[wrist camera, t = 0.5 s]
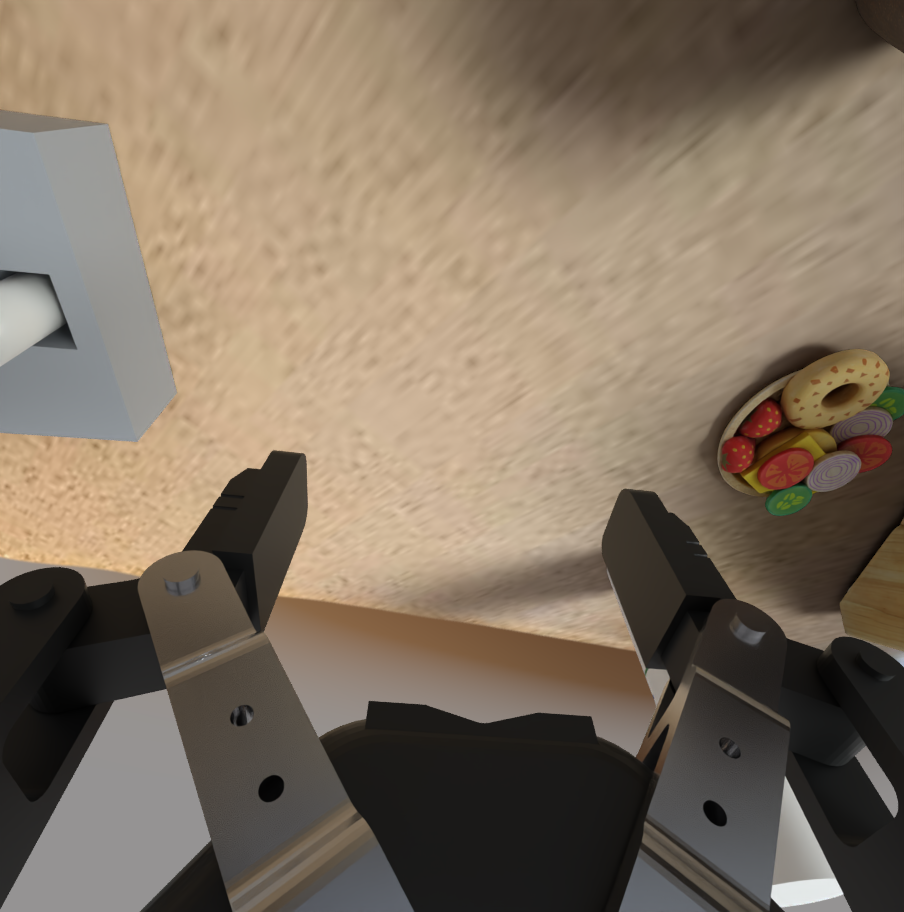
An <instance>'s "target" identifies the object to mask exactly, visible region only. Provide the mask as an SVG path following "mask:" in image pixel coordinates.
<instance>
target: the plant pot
mask: <svg viewBox="0 0 904 912" xmlns="http://www.w3.org/2000/svg"><path fill="white" fill-rule="evenodd" d="M856 4H857V8H858V11H859V13H860V15H861V17H862V18H863V20H864V21H865V23H866V24H867V25H868V26H869V27H870V28H871V29H872V30H873V31H874V32H875V33H877V34H878V35H879V36H881V37H882V38H883V39H885V40H886V41H887V42H888V43H890V44H891V45H893V46H894V47H896V48H897V49H898V50H900V51H901V52H903V53H904V0H856Z"/></svg>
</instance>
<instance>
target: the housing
mask: <svg viewBox="0 0 904 912" xmlns="http://www.w3.org/2000/svg"><path fill="white" fill-rule="evenodd" d="M18 272H28V273H38V274H48V275H50V278H51V280H52V283H53V286H54V288H55V291H56V294H57V296H58V299H59V302H60V304H61V307H62V310H63V312H64V315H65V318H66V320H67V323H66V324H64V325H63V326H61V327H60V328H58V329H57V330H55V331H54V332H52V333H51V334H49V335H48V336H46V337H45V338H43V339H42V340H40V341H39V342H37V343H36V344H34V345H33V346H31V347H30V348H28V349H27V350H25V351H23V352H22V353H20V354H19V355H17V356H16V357H14V358H13V359H11V360H10V361H8V362H7V363H5V364H4V365H2V366H1V367H0V433H12V434H27V435H42V436H57V437H73V438H88V439H103V440H118V441H133V442H138V440H139V439H140V438H141V437H142V436H143V434H144V433H145V432H146V431H147V429H148V428H149V427H150V426H151V424H152V423H153V422H154V421H155V420H156V418H157V417H158V416H159V415H160V413H161V412H162V411H163V410H164V408H165V407H166V406H167V405H168V403H169V402H170V401H171V400H172V399H173V397H174V396H175V395H176V394H177V391H176V387H175V383H174V379H173V375H172V371H171V367H170V363H169V360H168V356H167V352H166V348H165V344H164V340H163V336H162V332H161V329H160V325H159V321H158V317H157V313H156V309H155V305H154V301H153V297H152V294H151V290H150V286H149V282H148V278H147V274H146V270H145V266H144V263H143V259H142V255H141V251H140V247H139V243H138V239H137V235H136V231H135V228H134V224H133V220H132V216H131V212H130V208H129V204H128V200H127V197H126V193H125V189H124V185H123V181H122V177H121V173H120V169H119V165H118V162H117V158H116V154H115V150H114V146H113V142H112V138H111V134H110V131H109V127H108V124H104V123H96V122H89V121H81V120H73V119H66V118H58V117H50V116H42V115H35V114H27V113H19V112H12V111H4V110H0V280H2V279H5V278H7V277H9V276H11V275H13V274H16V273H18Z"/></svg>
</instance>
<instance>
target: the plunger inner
mask: <svg viewBox="0 0 904 912" xmlns="http://www.w3.org/2000/svg"><path fill="white" fill-rule="evenodd" d="M66 323H67V320H66V318H65V315H64V312H63V310H62V307H61V304H60V302H59V299H58V296H57V294H56V291H55V288H54V286H53V283H52V280H51V278H50V275H48V274H38V273H28V272H18V273H16V274H13V275H11V276H9V277H7V278H5V279H2V280H0V367H1V366H2V365H4V364H5V363H7V362H8V361H10V360H11V359H13V358H14V357H16V356H17V355H19V354H20V353H22V352H23V351H25V350H27V349H28V348H30V347H31V346H33V345H34V344H36V343H37V342H39V341H40V340H42V339H43V338H45V337H46V336H48V335H49V334H51V333H52V332H54V331H55V330H57V329H58V328H60V327H61V326H63V325H64V324H66Z"/></svg>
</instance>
